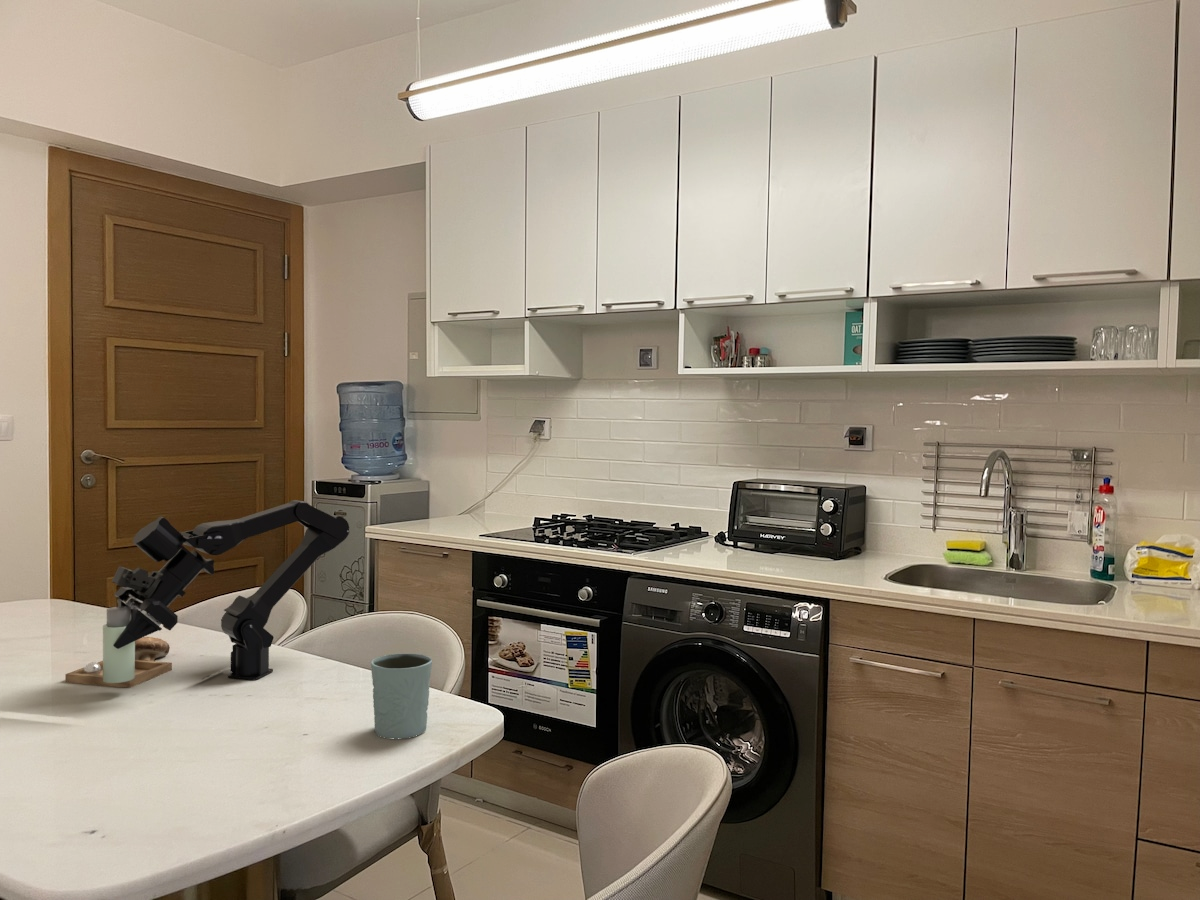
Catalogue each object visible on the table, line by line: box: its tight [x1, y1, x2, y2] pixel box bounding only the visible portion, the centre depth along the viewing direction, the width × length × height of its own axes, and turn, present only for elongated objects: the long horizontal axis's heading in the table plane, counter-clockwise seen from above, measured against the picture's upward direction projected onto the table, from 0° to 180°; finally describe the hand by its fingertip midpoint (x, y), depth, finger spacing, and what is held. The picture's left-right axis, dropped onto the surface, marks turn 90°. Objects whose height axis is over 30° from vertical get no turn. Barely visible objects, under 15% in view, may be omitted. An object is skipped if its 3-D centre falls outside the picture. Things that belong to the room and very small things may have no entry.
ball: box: [83, 661, 102, 675], centre depth 175 cm, size 3×3×3 cm
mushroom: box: [135, 636, 170, 661], centre depth 188 cm, size 8×8×6 cm
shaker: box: [102, 606, 135, 683], centre depth 165 cm, size 5×5×13 cm
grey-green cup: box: [370, 652, 433, 740], centre depth 152 cm, size 10×10×12 cm
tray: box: [65, 660, 173, 689], centre depth 176 cm, size 14×12×2 cm
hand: (110, 644), depth 164 cm, fingers closed on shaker, 5 cm apart
